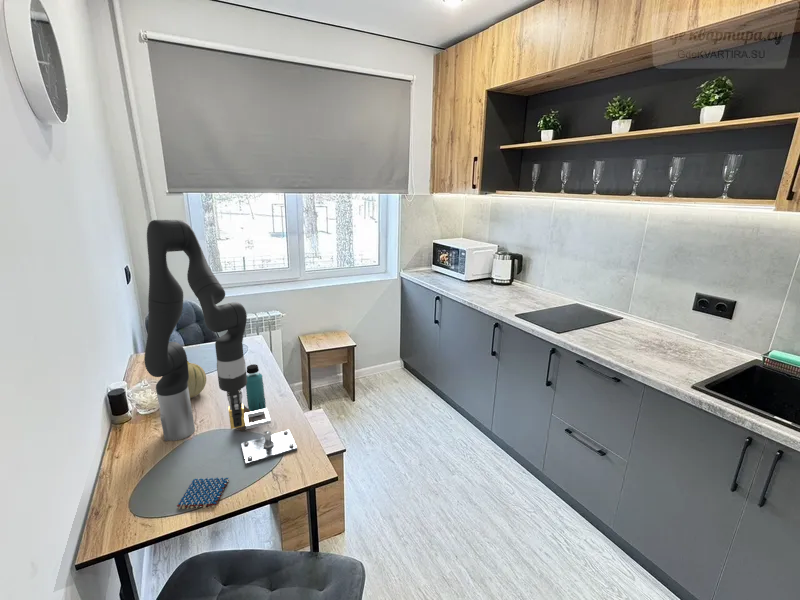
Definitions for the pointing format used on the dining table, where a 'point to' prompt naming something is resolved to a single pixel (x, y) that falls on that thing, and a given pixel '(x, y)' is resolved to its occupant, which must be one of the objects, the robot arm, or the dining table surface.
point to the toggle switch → (268, 447)
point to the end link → (250, 414)
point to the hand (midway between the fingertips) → (237, 422)
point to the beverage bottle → (255, 389)
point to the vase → (248, 419)
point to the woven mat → (203, 493)
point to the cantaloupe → (196, 379)
